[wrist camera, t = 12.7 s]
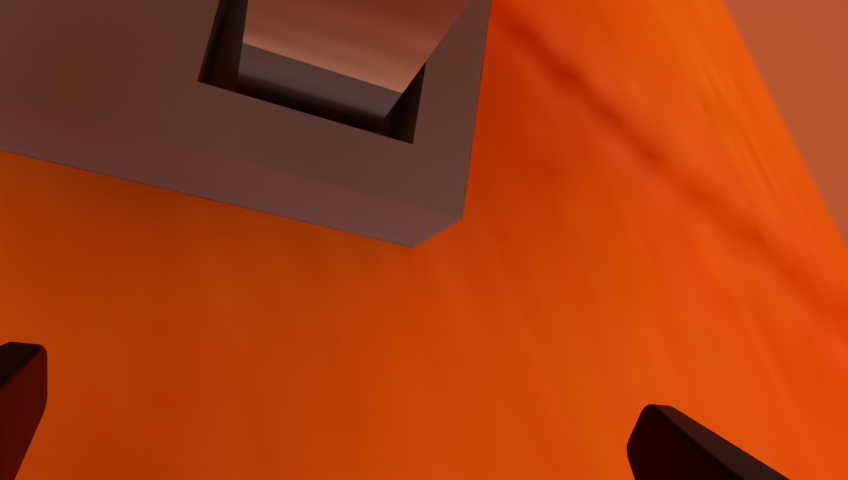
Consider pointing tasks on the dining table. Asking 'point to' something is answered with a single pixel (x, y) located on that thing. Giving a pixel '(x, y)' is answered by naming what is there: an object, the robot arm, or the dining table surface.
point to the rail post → (339, 53)
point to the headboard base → (233, 115)
